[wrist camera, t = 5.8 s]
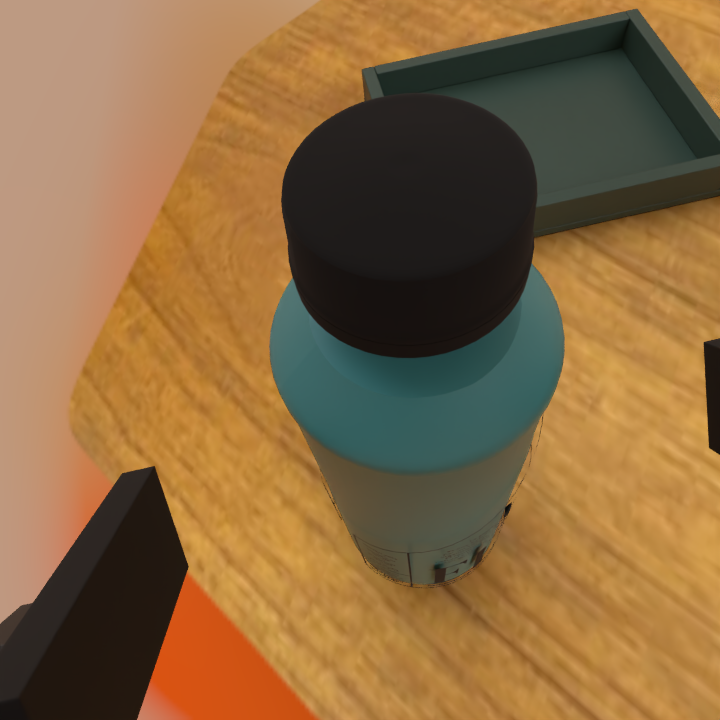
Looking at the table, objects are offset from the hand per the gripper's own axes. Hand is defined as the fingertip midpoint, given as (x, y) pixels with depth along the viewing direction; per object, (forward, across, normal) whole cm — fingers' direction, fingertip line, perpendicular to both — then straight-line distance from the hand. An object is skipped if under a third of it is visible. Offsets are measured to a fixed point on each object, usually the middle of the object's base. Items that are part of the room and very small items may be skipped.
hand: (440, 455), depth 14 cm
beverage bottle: (+10, 0, -8) cm, 13 cm away
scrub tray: (+24, +12, +6) cm, 28 cm away
